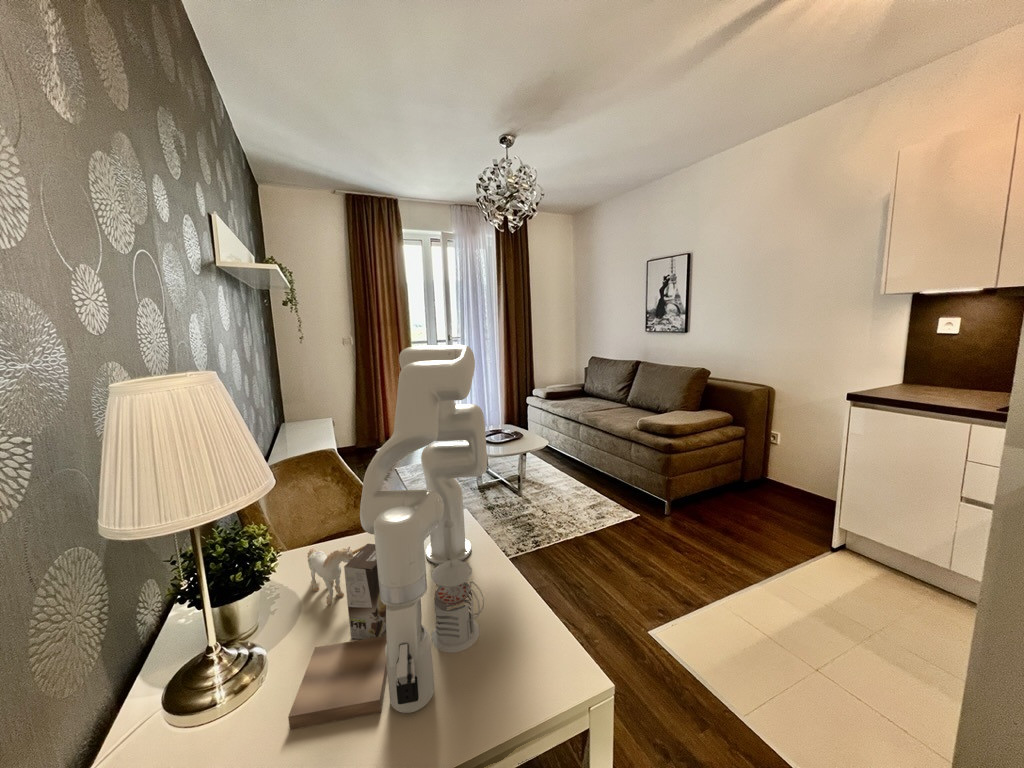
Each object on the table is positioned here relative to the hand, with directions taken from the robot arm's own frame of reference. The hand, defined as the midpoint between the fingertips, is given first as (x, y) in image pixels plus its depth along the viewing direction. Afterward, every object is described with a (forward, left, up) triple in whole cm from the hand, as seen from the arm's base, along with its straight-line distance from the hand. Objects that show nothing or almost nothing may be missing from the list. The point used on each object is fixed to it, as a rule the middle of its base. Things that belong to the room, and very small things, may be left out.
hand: (410, 675), depth 68 cm
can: (0, 0, -5) cm, 5 cm away
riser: (-5, -12, -4) cm, 14 cm away
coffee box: (-19, -9, -5) cm, 22 cm away
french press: (-12, +9, -5) cm, 16 cm away
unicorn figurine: (-33, -19, -5) cm, 38 cm away
